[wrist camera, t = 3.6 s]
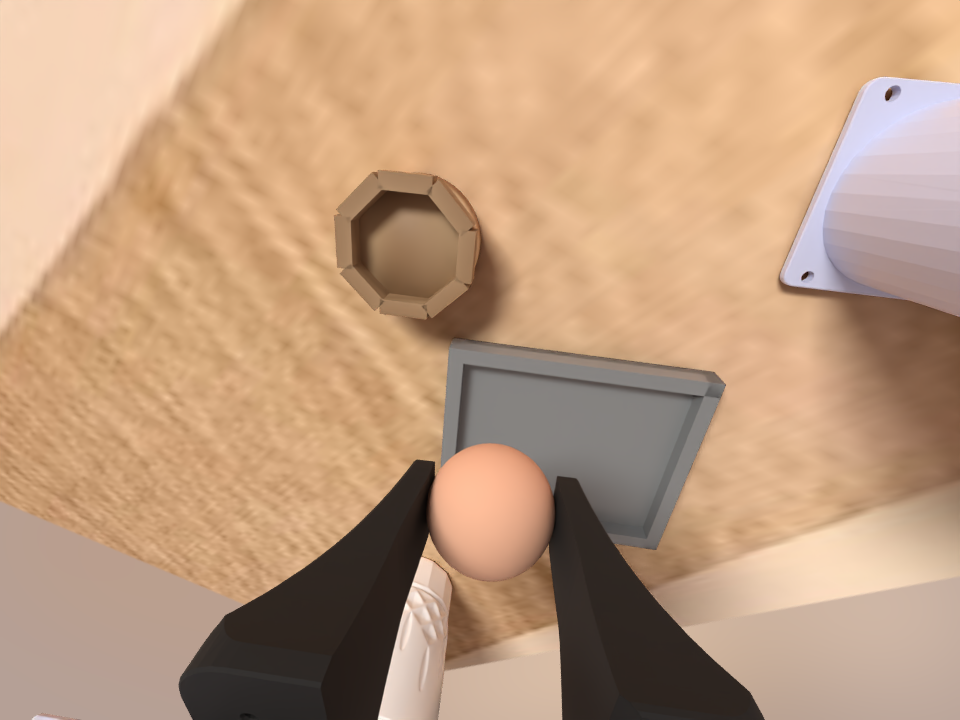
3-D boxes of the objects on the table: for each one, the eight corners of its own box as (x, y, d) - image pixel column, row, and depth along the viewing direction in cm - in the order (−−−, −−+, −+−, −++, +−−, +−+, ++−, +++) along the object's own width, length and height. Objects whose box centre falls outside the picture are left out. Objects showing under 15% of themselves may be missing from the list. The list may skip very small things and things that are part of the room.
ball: (557, 424, 13) (569, 518, 10) (545, 512, 15) (552, 620, 11) (438, 414, 14) (408, 502, 10) (440, 502, 15) (414, 604, 12)
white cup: (480, 592, 31) (462, 766, 22) (409, 624, 33) (366, 791, 24) (410, 530, 29) (357, 695, 20) (340, 570, 31) (266, 731, 22)
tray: (713, 371, 21) (726, 384, 20) (649, 531, 26) (656, 549, 25) (453, 337, 22) (449, 347, 20) (441, 500, 27) (437, 516, 26)
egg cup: (486, 180, 18) (480, 181, 15) (474, 305, 21) (467, 324, 18) (359, 165, 18) (331, 164, 16) (363, 290, 21) (339, 308, 18)
